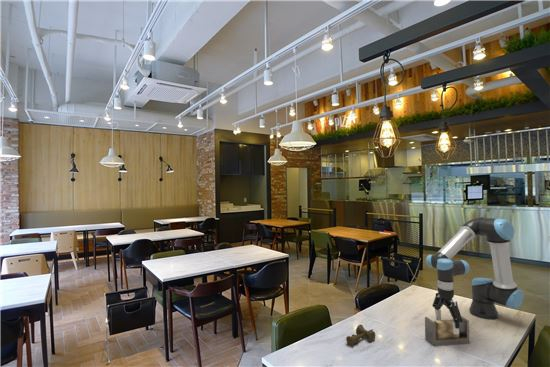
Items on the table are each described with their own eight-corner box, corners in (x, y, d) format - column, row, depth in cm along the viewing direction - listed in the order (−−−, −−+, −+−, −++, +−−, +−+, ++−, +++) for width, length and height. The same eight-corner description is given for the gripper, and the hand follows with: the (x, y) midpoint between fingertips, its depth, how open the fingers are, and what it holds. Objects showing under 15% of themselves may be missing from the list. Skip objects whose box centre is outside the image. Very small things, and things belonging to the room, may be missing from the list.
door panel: (455, 337, 158) (454, 319, 158) (459, 340, 155) (458, 321, 155) (434, 339, 157) (434, 320, 157) (438, 342, 153) (438, 323, 154)
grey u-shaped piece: (459, 336, 160) (459, 314, 160) (469, 343, 153) (468, 320, 153) (425, 339, 158) (424, 317, 158) (433, 346, 151) (433, 323, 151)
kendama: (342, 343, 157) (366, 331, 168) (356, 351, 149) (380, 338, 160) (342, 332, 156) (365, 321, 168) (356, 340, 149) (380, 328, 160)
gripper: (424, 281, 168) (426, 317, 168) (456, 297, 143) (457, 340, 143) (436, 280, 169) (438, 316, 169) (470, 296, 144) (471, 338, 144)
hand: (447, 327), depth 156 cm, fingers open, 13 cm apart
